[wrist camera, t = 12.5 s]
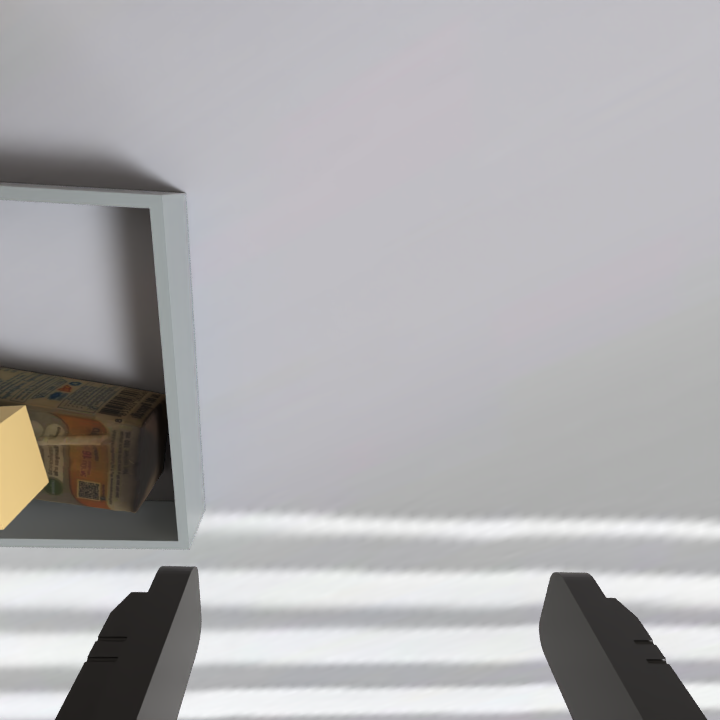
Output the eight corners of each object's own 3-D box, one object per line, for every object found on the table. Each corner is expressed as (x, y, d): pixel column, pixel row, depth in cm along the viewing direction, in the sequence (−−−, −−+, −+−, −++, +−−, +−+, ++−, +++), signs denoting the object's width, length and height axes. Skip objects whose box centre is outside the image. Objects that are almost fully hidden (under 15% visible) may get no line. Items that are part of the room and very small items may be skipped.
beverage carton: (-79, 346, 37) (-161, 380, 31) (176, 388, 40) (147, 427, 33) (-70, 437, 40) (-144, 484, 34) (169, 471, 42) (141, 521, 36)
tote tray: (-158, 172, 33) (-241, 171, 28) (185, 193, 34) (161, 195, 29) (-63, 504, 42) (-113, 545, 37) (205, 509, 43) (189, 549, 39)
